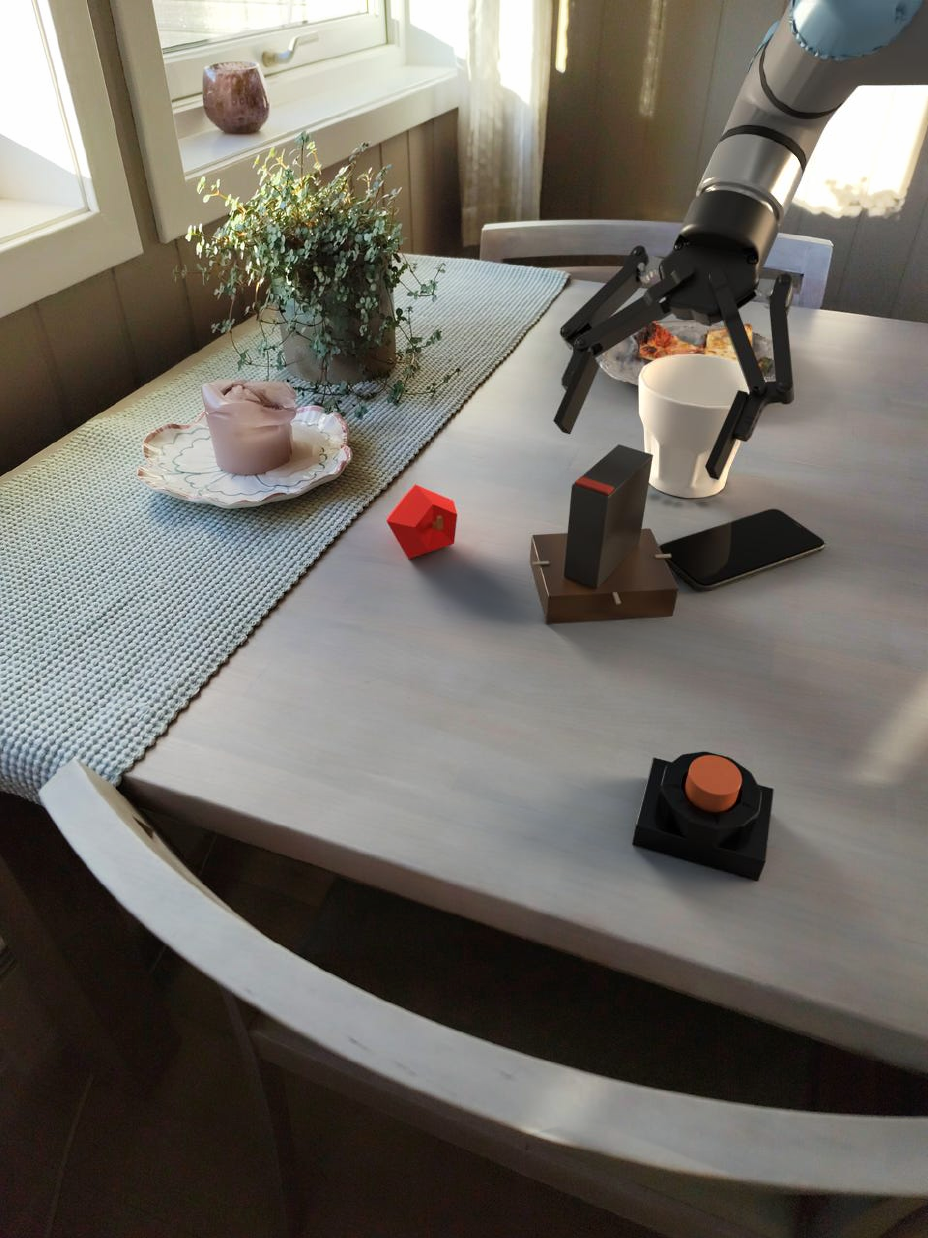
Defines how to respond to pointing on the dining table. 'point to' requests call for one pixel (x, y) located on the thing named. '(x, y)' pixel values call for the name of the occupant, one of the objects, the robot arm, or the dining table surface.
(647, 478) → the dark grey block
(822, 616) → the dining table surface
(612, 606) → the base
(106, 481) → the dining table surface
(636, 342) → the food plate
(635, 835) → the button block
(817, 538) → the smartphone
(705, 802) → the button
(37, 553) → the dining table surface
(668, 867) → the dining table surface
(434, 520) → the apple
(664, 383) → the cup
